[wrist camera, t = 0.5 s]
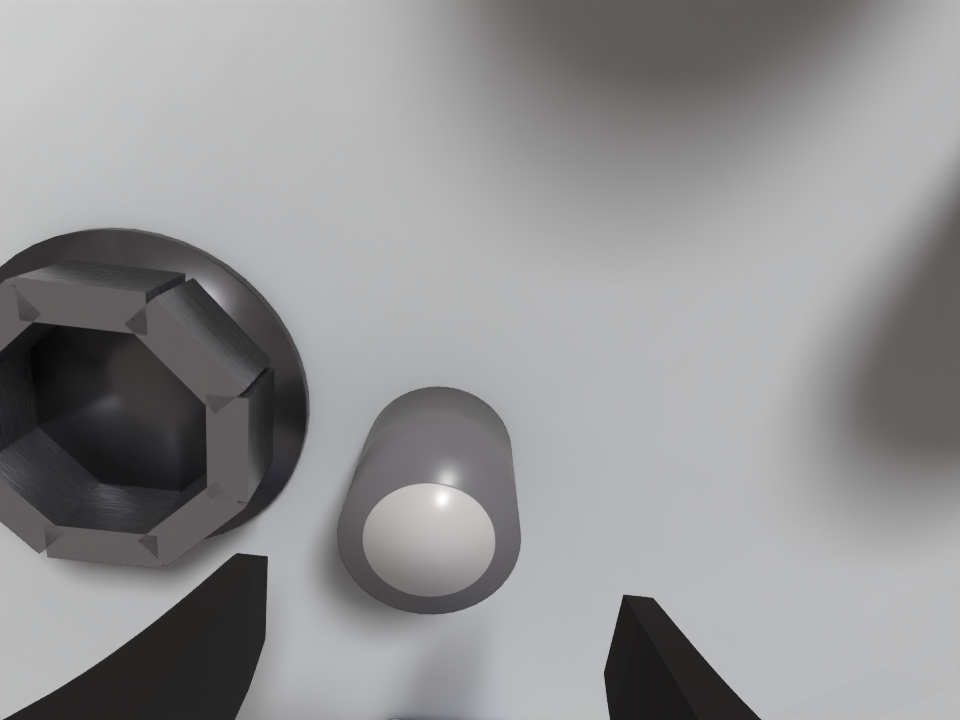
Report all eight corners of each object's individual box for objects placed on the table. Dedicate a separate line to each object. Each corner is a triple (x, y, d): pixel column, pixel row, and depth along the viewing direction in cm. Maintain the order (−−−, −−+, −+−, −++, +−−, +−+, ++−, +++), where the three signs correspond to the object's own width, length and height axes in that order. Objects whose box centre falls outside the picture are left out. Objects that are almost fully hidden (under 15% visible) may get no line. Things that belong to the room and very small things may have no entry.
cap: (500, 522, 23) (507, 624, 18) (362, 507, 23) (332, 607, 18) (521, 395, 21) (534, 471, 17) (372, 378, 21) (341, 450, 16)
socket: (304, 549, 23) (280, 607, 21) (-6, 518, 23) (-74, 572, 20) (316, 251, 20) (289, 271, 17) (-52, 205, 19) (-143, 218, 16)
